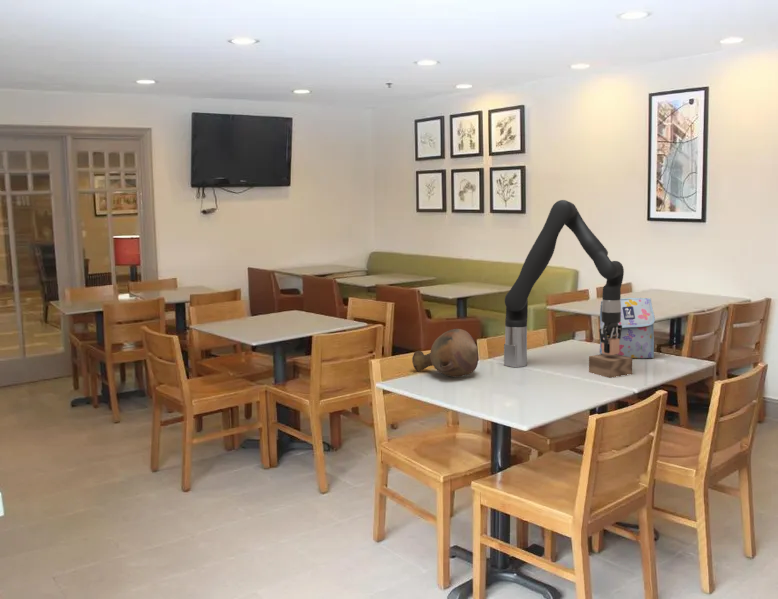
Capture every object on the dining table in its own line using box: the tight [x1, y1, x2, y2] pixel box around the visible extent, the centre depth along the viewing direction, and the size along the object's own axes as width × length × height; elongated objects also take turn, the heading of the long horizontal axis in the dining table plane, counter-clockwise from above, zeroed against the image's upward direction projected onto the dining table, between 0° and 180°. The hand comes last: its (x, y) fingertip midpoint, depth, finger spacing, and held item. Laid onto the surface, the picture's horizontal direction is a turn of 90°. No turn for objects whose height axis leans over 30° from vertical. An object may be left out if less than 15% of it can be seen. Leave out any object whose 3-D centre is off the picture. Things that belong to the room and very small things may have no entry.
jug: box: [411, 328, 479, 378], centre depth 319 cm, size 20×20×30 cm
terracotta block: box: [602, 338, 619, 355], centre depth 315 cm, size 5×5×6 cm
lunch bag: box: [599, 297, 656, 359], centre depth 346 cm, size 22×17×26 cm
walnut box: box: [588, 353, 633, 379], centre depth 316 cm, size 12×12×7 cm
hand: (610, 351), depth 315 cm, fingers closed on terracotta block, 4 cm apart
